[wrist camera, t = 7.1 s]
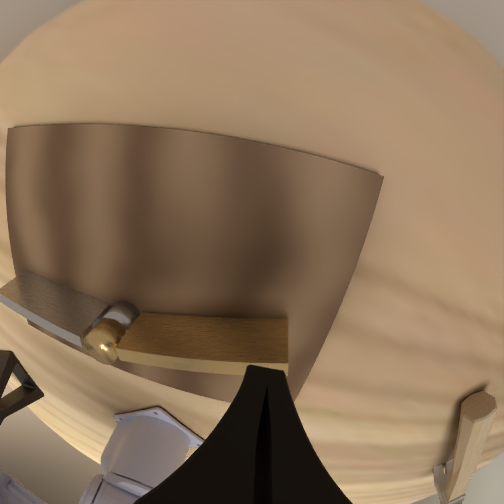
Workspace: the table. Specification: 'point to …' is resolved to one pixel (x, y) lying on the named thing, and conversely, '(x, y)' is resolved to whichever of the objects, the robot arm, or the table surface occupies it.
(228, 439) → the robot arm
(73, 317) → the strip
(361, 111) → the table surface
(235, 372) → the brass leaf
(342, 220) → the walnut board
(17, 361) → the phone stand
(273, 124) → the table surface
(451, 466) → the hammer
